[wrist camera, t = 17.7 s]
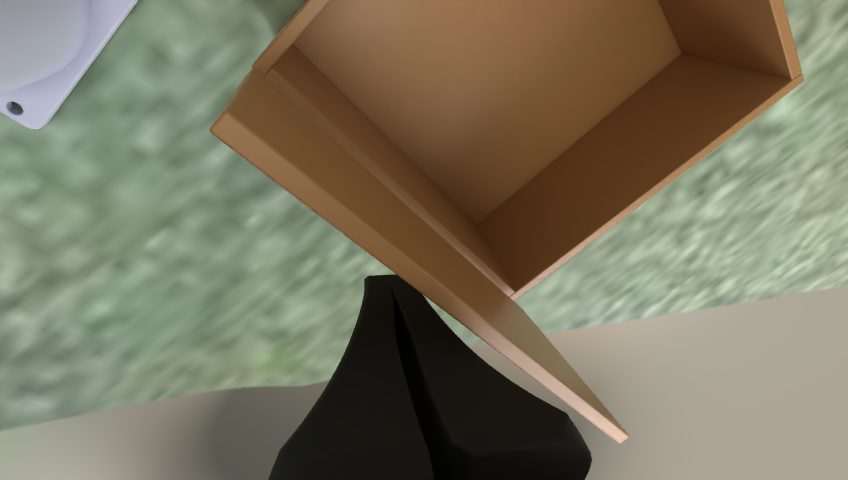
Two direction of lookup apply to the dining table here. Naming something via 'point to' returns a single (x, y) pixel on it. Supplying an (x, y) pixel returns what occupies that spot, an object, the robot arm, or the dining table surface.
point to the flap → (393, 234)
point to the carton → (530, 107)
